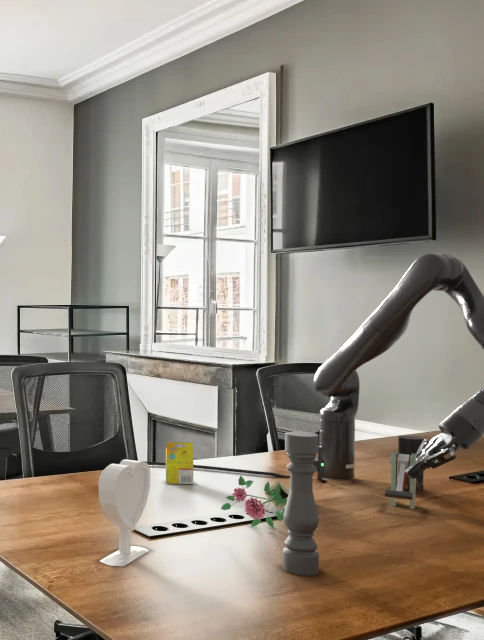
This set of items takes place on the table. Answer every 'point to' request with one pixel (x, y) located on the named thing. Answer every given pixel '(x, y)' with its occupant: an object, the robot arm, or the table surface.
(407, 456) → the lever
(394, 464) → the bracket
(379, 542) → the table surface
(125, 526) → the heart sculpture
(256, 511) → the flower vase
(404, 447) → the deodorant
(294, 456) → the candle holder
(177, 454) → the crayon box
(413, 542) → the table surface
